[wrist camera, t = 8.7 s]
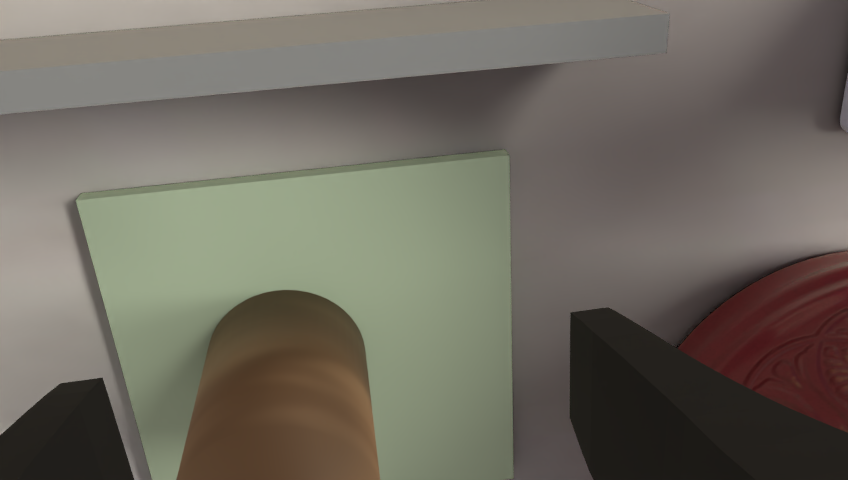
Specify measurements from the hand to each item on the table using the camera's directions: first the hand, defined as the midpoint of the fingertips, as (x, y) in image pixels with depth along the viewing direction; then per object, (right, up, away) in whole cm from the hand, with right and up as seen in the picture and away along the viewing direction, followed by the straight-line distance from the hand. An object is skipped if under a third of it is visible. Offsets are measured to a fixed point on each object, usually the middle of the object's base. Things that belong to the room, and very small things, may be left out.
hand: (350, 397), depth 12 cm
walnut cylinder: (-3, -1, +10) cm, 10 cm away
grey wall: (-2, +7, +7) cm, 10 cm away
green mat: (-2, -1, +10) cm, 11 cm away
